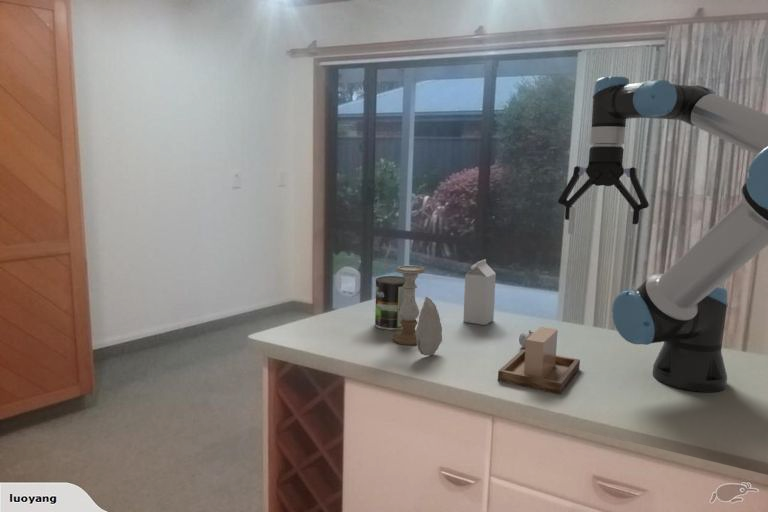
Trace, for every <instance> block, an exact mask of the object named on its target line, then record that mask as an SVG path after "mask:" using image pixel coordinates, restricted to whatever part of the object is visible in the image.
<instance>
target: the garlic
mask: <svg viewBox="0 0 768 512" xmlns="http://www.w3.org/2000/svg"><path fill="white" fill-rule="evenodd" d="M534 332H535V331H532V330H531V329H529V330H528V331H523V332H521V333H520V335H519V336H518V341H519V344H520V346H521V347H522V348H523V349H525V347H526V339H527V338H528V337H530V336H531V335H532V334H533V333H534Z"/></svg>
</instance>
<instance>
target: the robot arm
mask: <svg viewBox="0 0 768 512" xmlns="http://www.w3.org/2000/svg"><path fill="white" fill-rule="evenodd" d="M591 111H592V113H591V115H592V116H591V128H590V138H589V139H590V140H589V144H590V145H592V146H591V147H590V148H589V150H588V151H589V153H588V165H587V166H586V167H582V166H577V165H576V166H574V169H573V174H572V176H571V178H570V180H569V182H568V183H567V185H566V186H565V188H564V190H563V192H561V193H562V194H561V195H560V196H559V199H558V200H557V203H558V204H559V205H563V206H564V207H565V211H564V219H565V220H566V221H568V225H567V226H568V227H567V229H568V231H567V234H568V235H573V234H574V231H575V216H576V206H573V205H574V204H575V203H576V202H577V201H578V200H579V199H580V198H581V197H582V196H583V195H584V194H585V193H586V192H587V191H588V190H589V189H590V188H591V187H592V186H593V185H594V186H597V187H598V186H599V187H600V186H601V187H602V186H605V187H611V186H614V187H615V188H616V189H617V190H618V191H619V192H620V194H621V195H622V196H623V198H624V199H625V201H626V202H627V203H628V204H629V205H630V207H631V209H629V217H628V226H627V227H628V228H627V237H626V239H630V240H631V239H633V235H634V227H635V226H634V225H638V224H639V222H640V213H641V211H642V210H644V209H647V208H648V207H649V206H650V204H649V201H648V199H647V197H646V195H645V191H644V190H643V187H642V185H641V183H640V181H639V178H638V175H637V174H638V173H637V168H636V167H634V166H632V167H629V168H624V165H623V160H624V147H623V146H622V145H624V144H625V138H626V137H625V136H626V125H627V120H630V119H644V118H645V119H655V120H656V119H658V120H672V121H673V120H674V121H675V120H676V121H681V122H684V123H686V124H688V125H691V127H692V126H693V127H695V128H697V129H700V130H702V131H704V132H706V133H708V134H710V135H713V136H715V137H717V138H719V139H722V140H724V141H726V142H728V143H730V144H732V145H735V146H737V147H740V148H741V149H743V150H745V151H747V152H750V153H752V154H754V155H756V156H755V157H754V158H753V160H752V161H751V163H750V165H749V167H748V169H747V173H748V177H746V181H745V183H744V184H743V185H742V186H741V191H740V192H741V200H740V201H738V202H737V204H735V205H734V206H733V207H732V208H731V209H730V210H729V211H728V212H727V213H726V214H724V216H723V217H722V218H720V219H719V221H718V222H716V223H715V224H714V225H713V226H712V227H711V228H710V229H709V230H708V231H707V232H706V233H705V234H704V235H703V236H702V237H701V238H699V240H698V241H696V243H694V244H693V245H692V246H691V247H690V248H689V249H688V250H687V251H686V252H685V253H684V254H683V255H682V256H681V257H680V258H679V259H678V260H677V261H675V262H674V264H672V265H671V266H670V267H669V268H668V269H667V270H666V271H665V272H664V273H654V274H652V275H650V276H649V277H648V278H646V280H645V281H644V282H642V284H640V285H639V287H637V288H635V289H633V290H632V289H627V290H625V291H622V292H620V293H619V294H618V295H617V296H616V297H615V298H614V300H613V304H612V308H611V311H612V320H613V324H614V326H615V329H616V331H617V332H618V334H619V335H620V337H622V339H623V340H625V341H626V342H627V343H630V344H632V345H647V346H648V345H650V344H655V343H656V344H657V343H663V345H662V346H661V348H660V350H659V352H658V355H657V356H656V358H655V360H654V363H653V367H652V376H653V377H654V378H655V379H656V380H658V381H659V382H660V383H663V384H666V385H668V386H671V387H674V388H677V389H681V390H687V391H693V392H701V393H702V392H703V393H710V392H711V393H712V392H720V391H723V390H725V389H726V387H727V382H728V375H727V371H726V366H725V362H724V358H723V353H722V349H723V339H724V330H725V323H726V315H727V308H728V305H729V304H728V291H727V289H726V288H725V287H723V286H721V285H722V284H723V283H724V282H725V281H727V280H728V279H729V278H730V277H731V276H733V275H734V274H735V273H736V272H737V271H739V270H740V269H741V268H742V267H744V266H745V265H746V264H747V263H748V262H749V261H750V260H752V259H753V258H754V257H755V256H757V254H758V253H761V251H763V250H764V249H765V248H766V247H768V114H767V113H766V112H762V111H760V110H758V109H755V108H752V107H750V106H747V105H745V104H742V103H739V102H737V101H734V100H733V99H732V100H731V99H730V98H729V99H728V98H726V97H724V96H721V95H718V94H716V92H715V90H713V89H711V88H710V87H705V86H701V85H689V84H688V85H686V84H674V83H671V81H669V80H666V79H657V80H655V79H650V80H646V81H642V82H635V83H630V79H629V78H628V77H626V76H617V75H616V76H605V77H603V76H602V77H600V78H598V79H597V80H596V81H595V83H594V89H593V95H592V110H591ZM585 173H586V175H587V176H588V179H587V180H586V181H585V182H584V183H583V185H581V187H579V189H578V190H577V191H576V192H575V193H574V194H573V195H572V196H571V197H570V195H571V193H572V191H573V190H574V188H575V186H576V184H577V183H578V180H579V179H580V177H581V176H583V175H584V174H585ZM624 174H625V175H626V177H627V178H630V182H631V184H632V187H633V189H634V191H635V194H636V196H637V198H638V200H639V203H638V201H636V199H635V198H634V196H633V195H632V194H631V193H630V191H629V190H628V189H627V187H625V185H624V184H623V182H622V181H621V179H620V178H621V177H623V175H624ZM569 197H570V198H569ZM568 198H569V199H568Z"/></svg>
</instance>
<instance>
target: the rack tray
mask: <svg viewBox="0 0 768 512" xmlns="http://www.w3.org/2000/svg"><path fill="white" fill-rule="evenodd" d="M580 361H581V360H580V359H578V358H573V357H567V356H564V355H563V356H562V355H557V354H556V361H555V366H554V368H553V369H552V370H551V371H550V372H549V373H548V374H547V376H546V377H545V378H539V377H535V376H530V375H525V374H524V364H525V348H523V349H521V350H520V351H519V352H518V353H516V354H515V355H514V356H513V357H512V358H511V359H510V360H508V361H507V362H506V364H505V365H503V366H502V367H500V369H499V370H498V371H497V381H498V382H500V383H501V382H502V383H507V384H511V385H515V386H519V387H520V386H521V387H524V388H529V389H534V390H539V391H544V392H548V393H552V394H558V395H562V393H563V392H564V390H565V389H566V387H567V386H568V385H569V383H571V381H572V380H573V378H574V377H575V375H576V374H577V373H578V372H579V370H580Z"/></svg>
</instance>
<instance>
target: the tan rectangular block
mask: <svg viewBox="0 0 768 512" xmlns="http://www.w3.org/2000/svg"><path fill="white" fill-rule="evenodd" d="M558 331H559V329H558V328H557V329H556V328H551V327H544V326H540V327H539V328H538V329H536V330H535V331H533V332H534V333H533V334H532V335H531V336H530V337H528V338H527V339H526V347H525V348H524V349H525V364H524V374H525V375H530V376H535V377H539V378H545V377H546V376H547V374H548V373H549V372H550V371H551V370H552V369H553V368H554V366H555V361H556V355H557V347H558V346H557V343H558Z"/></svg>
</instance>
